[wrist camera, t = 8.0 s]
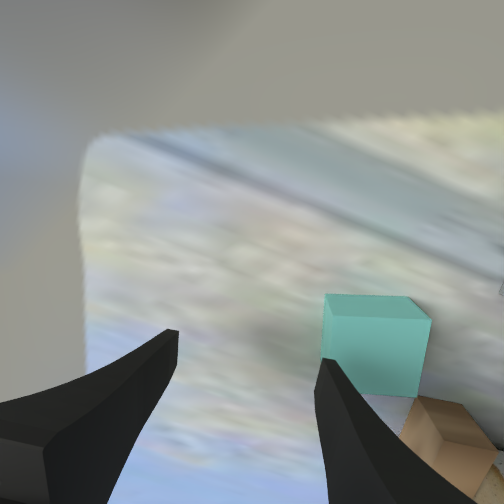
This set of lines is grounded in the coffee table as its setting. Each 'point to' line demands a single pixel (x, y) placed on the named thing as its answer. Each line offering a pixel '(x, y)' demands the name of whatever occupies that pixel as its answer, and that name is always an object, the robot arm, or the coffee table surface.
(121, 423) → the robot arm
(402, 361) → the turquoise cube box
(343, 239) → the coffee table surface
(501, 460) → the ceramic mug
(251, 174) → the coffee table surface
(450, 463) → the brown wooden block
